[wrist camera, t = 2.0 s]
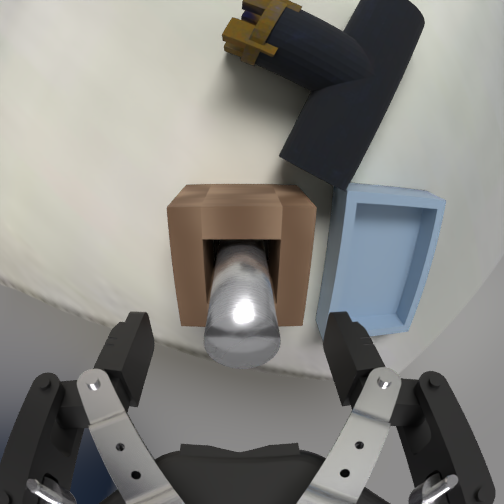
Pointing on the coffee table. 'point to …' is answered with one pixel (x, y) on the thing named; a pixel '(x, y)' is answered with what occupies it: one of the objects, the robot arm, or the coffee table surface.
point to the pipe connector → (330, 74)
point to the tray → (378, 255)
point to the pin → (241, 307)
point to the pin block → (241, 227)
